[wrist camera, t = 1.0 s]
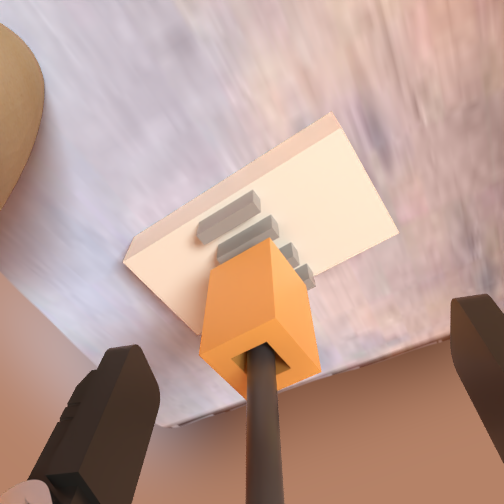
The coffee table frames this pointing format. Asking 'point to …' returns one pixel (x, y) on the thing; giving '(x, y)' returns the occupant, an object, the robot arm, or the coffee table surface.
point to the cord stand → (253, 232)
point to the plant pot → (17, 108)
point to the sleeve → (258, 317)
